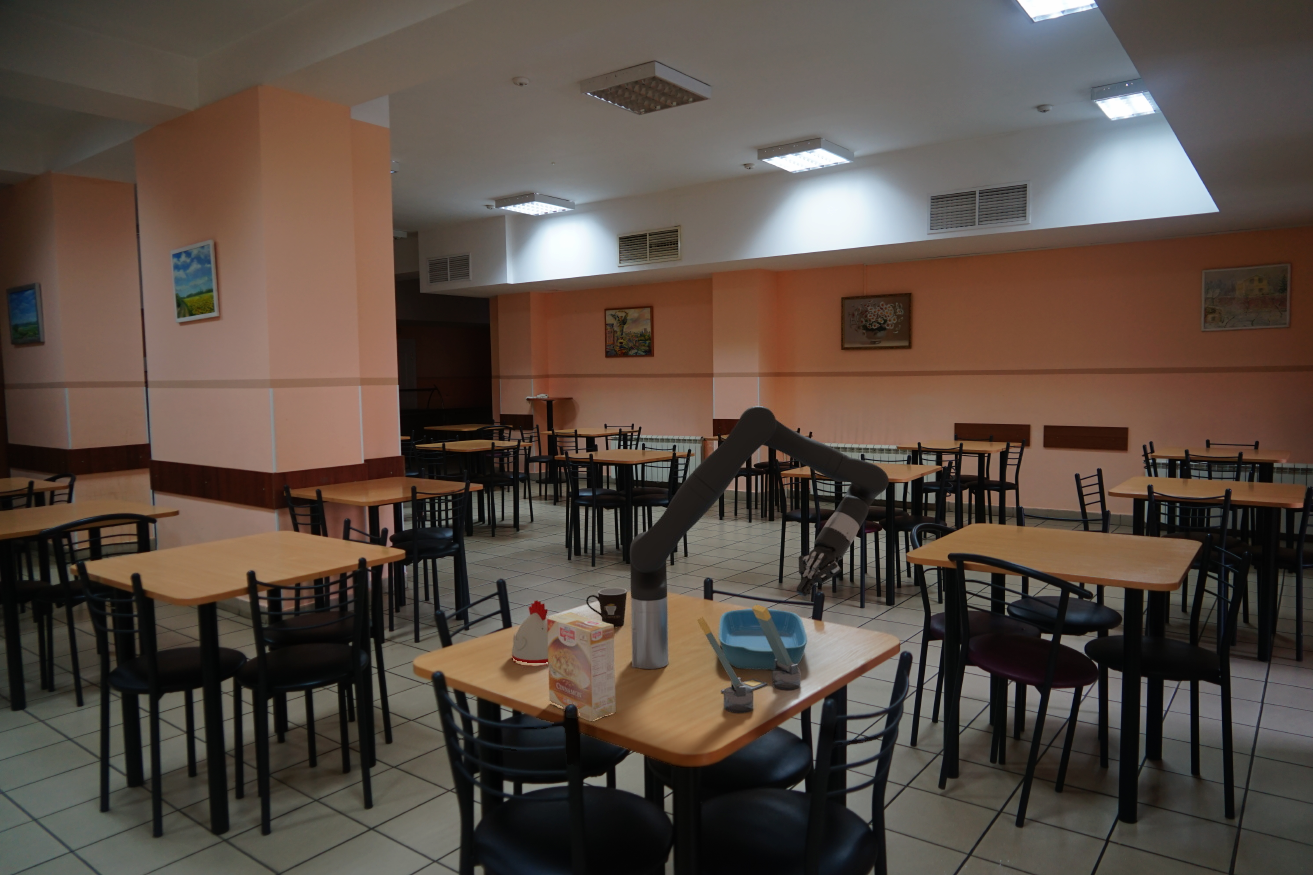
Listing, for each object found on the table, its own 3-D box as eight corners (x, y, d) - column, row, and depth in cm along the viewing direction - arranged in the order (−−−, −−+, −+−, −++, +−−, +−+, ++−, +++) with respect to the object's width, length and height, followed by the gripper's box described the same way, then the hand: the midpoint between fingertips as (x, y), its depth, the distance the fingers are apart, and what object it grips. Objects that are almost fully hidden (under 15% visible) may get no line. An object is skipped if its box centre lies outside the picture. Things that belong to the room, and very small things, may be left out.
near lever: (742, 683, 174) (703, 615, 173) (746, 690, 170) (706, 620, 169) (734, 688, 174) (695, 620, 172) (738, 695, 170) (698, 625, 168)
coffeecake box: (548, 704, 176) (545, 617, 175) (573, 695, 181) (571, 611, 180) (591, 723, 165) (589, 630, 164) (617, 713, 170) (615, 623, 169)
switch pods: (740, 715, 168) (740, 689, 167) (717, 707, 172) (717, 682, 172) (806, 684, 185) (805, 661, 184) (783, 678, 189) (783, 655, 189)
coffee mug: (633, 622, 239) (632, 589, 238) (616, 629, 232) (616, 596, 231) (601, 617, 245) (601, 585, 245) (584, 624, 238) (584, 591, 237)
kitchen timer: (529, 670, 199) (527, 610, 198) (502, 656, 209) (500, 600, 209) (575, 657, 208) (574, 601, 207) (547, 645, 218) (546, 591, 218)
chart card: (734, 697, 178) (734, 694, 178) (720, 691, 181) (720, 689, 181) (767, 684, 185) (767, 682, 185) (753, 679, 189) (753, 677, 189)
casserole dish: (811, 677, 190) (811, 648, 190) (718, 676, 192) (717, 647, 192) (798, 632, 227) (798, 607, 226) (720, 631, 229) (720, 607, 229)
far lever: (784, 663, 187) (756, 603, 182) (796, 667, 184) (768, 607, 178) (779, 668, 186) (750, 608, 181) (790, 673, 183) (762, 612, 177)
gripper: (809, 522, 196) (772, 579, 190) (849, 529, 184) (811, 589, 179) (826, 541, 199) (790, 597, 193) (865, 548, 188) (829, 608, 182)
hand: (800, 593), depth 186 cm, fingers closed
